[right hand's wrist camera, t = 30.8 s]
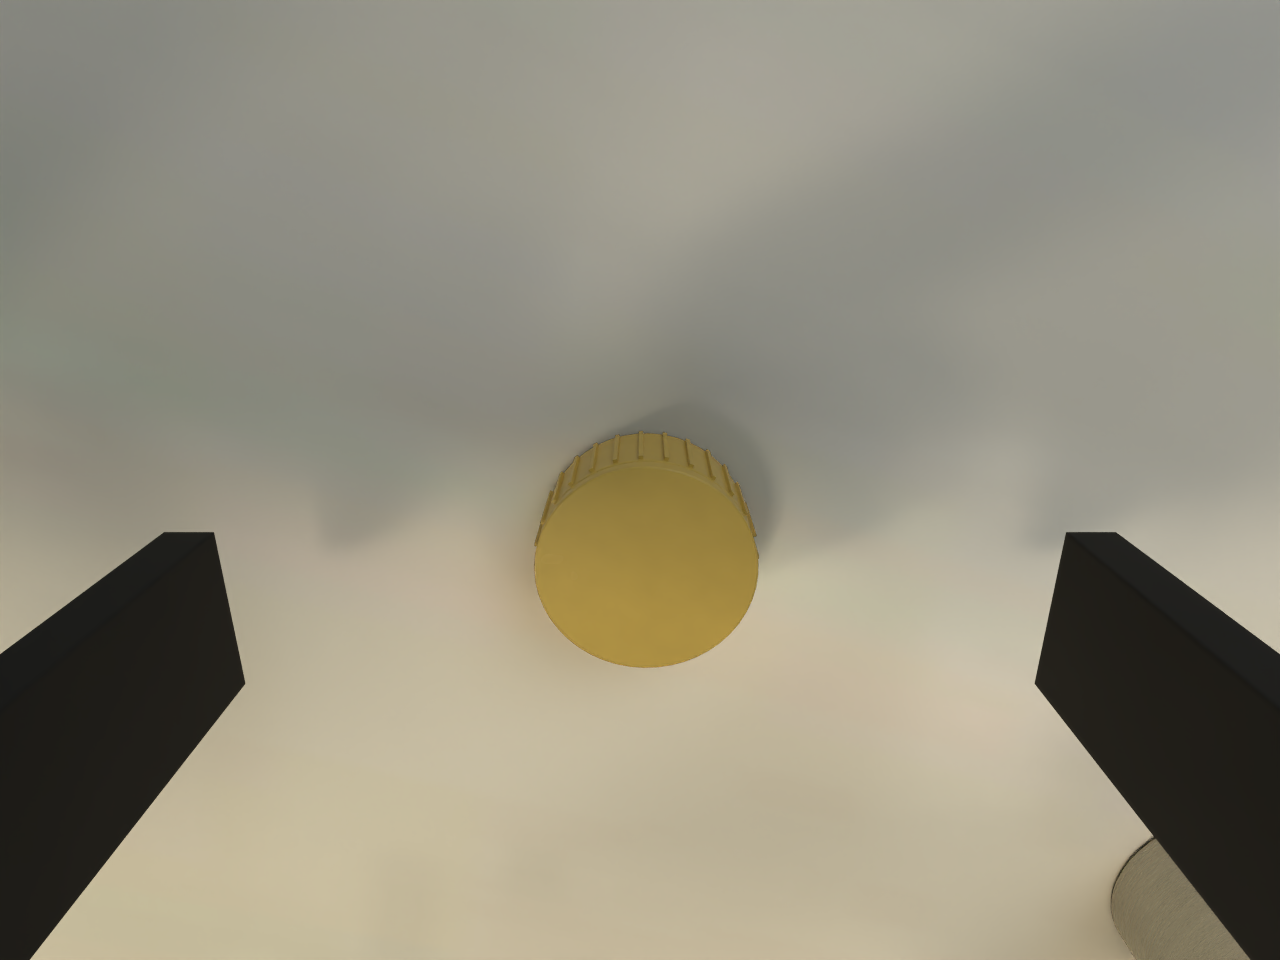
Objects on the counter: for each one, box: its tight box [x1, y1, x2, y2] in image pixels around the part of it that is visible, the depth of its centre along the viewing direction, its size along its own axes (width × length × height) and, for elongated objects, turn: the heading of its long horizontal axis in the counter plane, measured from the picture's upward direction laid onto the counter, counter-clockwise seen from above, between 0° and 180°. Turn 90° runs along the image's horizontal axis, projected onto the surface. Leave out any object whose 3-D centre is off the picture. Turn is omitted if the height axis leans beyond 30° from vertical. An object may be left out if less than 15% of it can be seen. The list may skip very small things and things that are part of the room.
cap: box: [534, 431, 759, 668], centre depth 15 cm, size 4×4×2 cm
